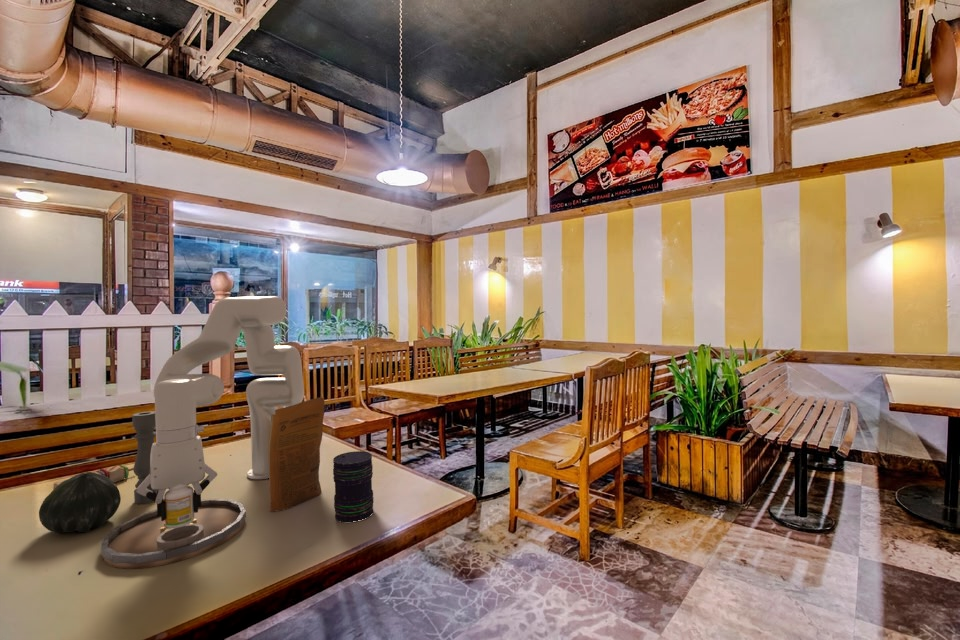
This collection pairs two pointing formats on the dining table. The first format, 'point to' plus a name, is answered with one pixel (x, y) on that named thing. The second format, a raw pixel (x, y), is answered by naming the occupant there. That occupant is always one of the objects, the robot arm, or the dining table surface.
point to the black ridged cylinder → (353, 486)
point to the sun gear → (170, 528)
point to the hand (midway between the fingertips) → (179, 513)
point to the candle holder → (143, 450)
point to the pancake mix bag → (295, 453)
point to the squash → (80, 503)
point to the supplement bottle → (179, 506)
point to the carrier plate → (152, 531)
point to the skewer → (110, 473)
